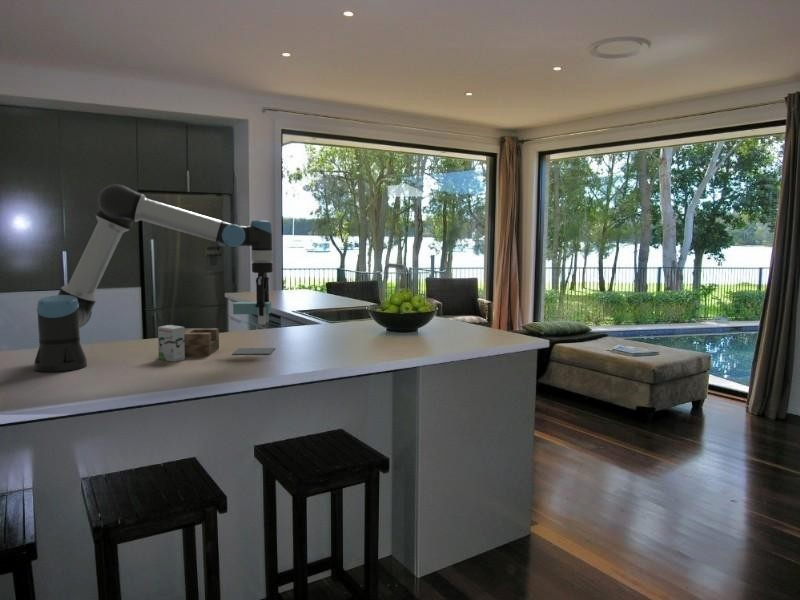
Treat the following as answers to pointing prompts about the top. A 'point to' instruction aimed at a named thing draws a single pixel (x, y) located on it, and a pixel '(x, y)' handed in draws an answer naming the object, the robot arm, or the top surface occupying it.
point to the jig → (201, 341)
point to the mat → (253, 351)
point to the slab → (249, 308)
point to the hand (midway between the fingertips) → (263, 323)
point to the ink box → (171, 343)
